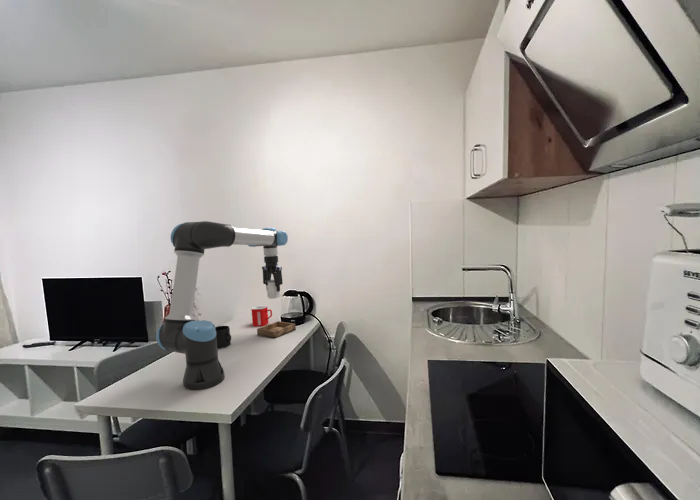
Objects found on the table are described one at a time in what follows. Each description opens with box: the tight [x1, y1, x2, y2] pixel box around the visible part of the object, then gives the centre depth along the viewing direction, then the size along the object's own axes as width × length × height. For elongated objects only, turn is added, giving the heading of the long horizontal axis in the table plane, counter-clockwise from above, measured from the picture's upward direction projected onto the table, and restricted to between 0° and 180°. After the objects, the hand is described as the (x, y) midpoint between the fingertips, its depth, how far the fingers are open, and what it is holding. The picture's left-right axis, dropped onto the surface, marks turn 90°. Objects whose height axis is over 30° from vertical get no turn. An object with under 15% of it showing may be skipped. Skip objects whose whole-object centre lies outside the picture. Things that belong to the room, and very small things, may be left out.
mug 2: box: [250, 305, 273, 327], centre depth 215 cm, size 12×8×11 cm
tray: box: [256, 321, 297, 339], centre depth 198 cm, size 16×14×4 cm
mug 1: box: [215, 325, 232, 349], centre depth 180 cm, size 9×12×9 cm
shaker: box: [267, 278, 276, 300], centre depth 196 cm, size 6×6×10 cm
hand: (273, 296), depth 196 cm, fingers closed on shaker, 6 cm apart
